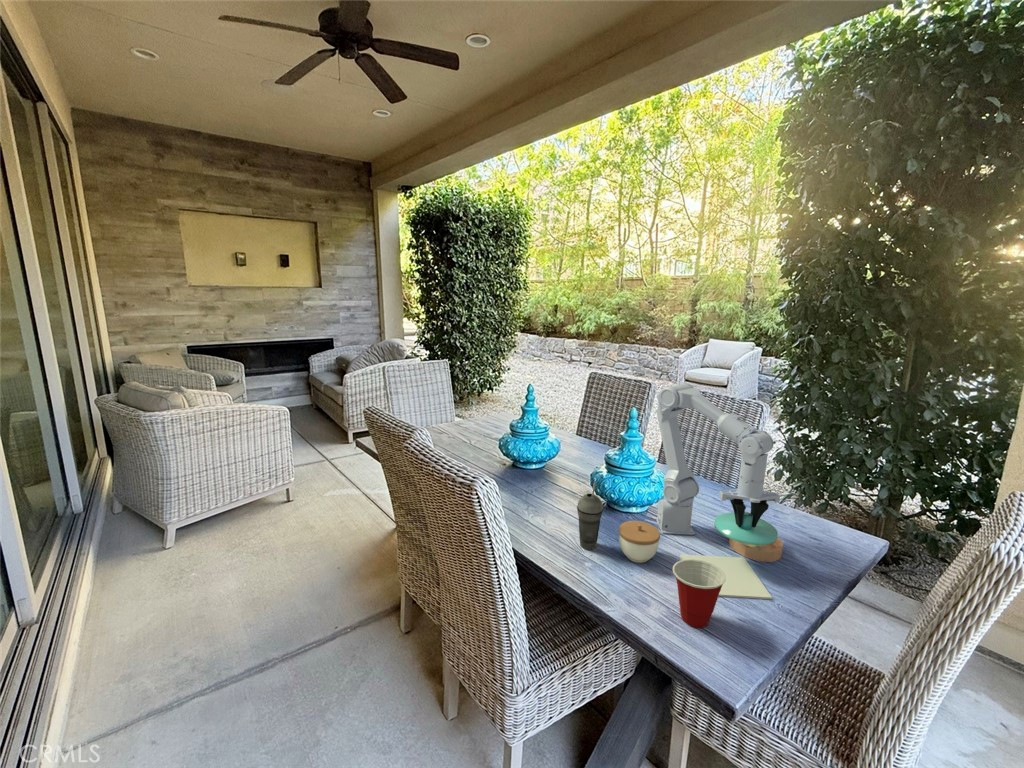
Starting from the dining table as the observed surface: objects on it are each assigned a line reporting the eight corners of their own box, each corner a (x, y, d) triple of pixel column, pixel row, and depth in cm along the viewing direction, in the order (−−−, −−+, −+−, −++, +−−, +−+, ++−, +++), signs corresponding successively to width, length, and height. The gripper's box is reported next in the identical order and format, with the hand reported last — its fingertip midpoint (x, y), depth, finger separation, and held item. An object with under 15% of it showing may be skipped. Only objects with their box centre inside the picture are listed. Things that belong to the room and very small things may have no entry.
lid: (726, 543, 115) (727, 528, 114) (706, 514, 129) (708, 500, 128) (788, 546, 114) (791, 531, 113) (761, 516, 128) (763, 502, 127)
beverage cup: (585, 535, 135) (588, 472, 130) (606, 545, 130) (610, 480, 125) (569, 545, 130) (572, 479, 125) (591, 556, 125) (594, 488, 120)
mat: (698, 595, 110) (698, 593, 109) (679, 556, 125) (679, 554, 125) (771, 599, 108) (772, 597, 108) (743, 559, 124) (743, 557, 124)
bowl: (740, 563, 124) (741, 550, 123) (722, 536, 136) (723, 525, 136) (790, 565, 123) (792, 552, 122) (767, 539, 135) (769, 527, 135)
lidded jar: (651, 573, 118) (654, 540, 116) (611, 559, 123) (613, 528, 121) (662, 552, 127) (665, 521, 125) (624, 541, 132) (626, 511, 130)
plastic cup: (685, 595, 109) (690, 550, 107) (729, 621, 101) (736, 573, 98) (658, 614, 103) (662, 567, 100) (702, 644, 95) (708, 594, 92)
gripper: (729, 483, 115) (723, 532, 118) (788, 485, 114) (781, 534, 117) (718, 471, 122) (713, 518, 125) (774, 473, 121) (768, 520, 124)
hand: (745, 525), depth 121 cm, fingers closed on lid, 3 cm apart
